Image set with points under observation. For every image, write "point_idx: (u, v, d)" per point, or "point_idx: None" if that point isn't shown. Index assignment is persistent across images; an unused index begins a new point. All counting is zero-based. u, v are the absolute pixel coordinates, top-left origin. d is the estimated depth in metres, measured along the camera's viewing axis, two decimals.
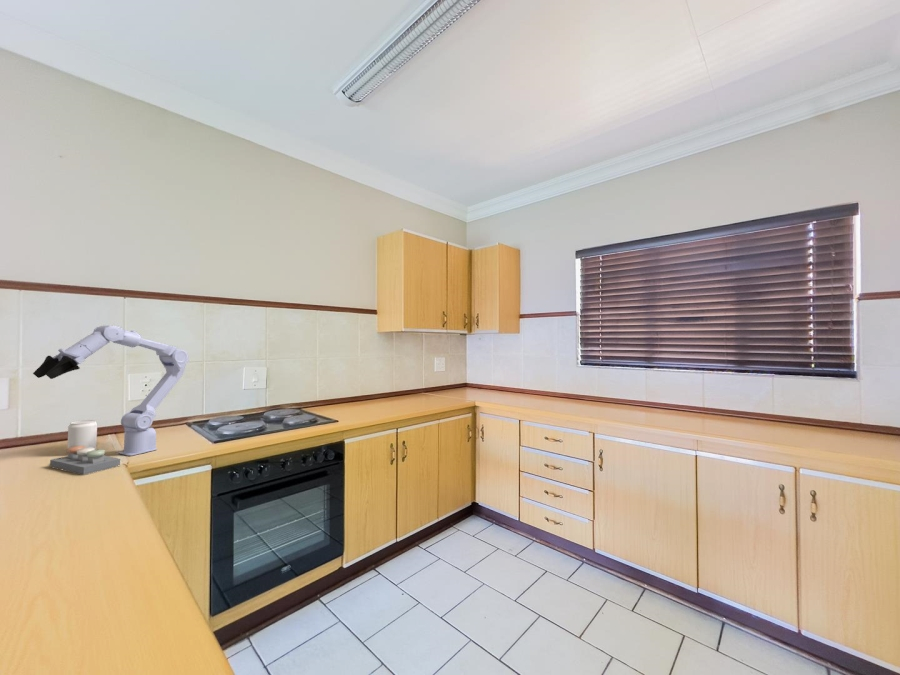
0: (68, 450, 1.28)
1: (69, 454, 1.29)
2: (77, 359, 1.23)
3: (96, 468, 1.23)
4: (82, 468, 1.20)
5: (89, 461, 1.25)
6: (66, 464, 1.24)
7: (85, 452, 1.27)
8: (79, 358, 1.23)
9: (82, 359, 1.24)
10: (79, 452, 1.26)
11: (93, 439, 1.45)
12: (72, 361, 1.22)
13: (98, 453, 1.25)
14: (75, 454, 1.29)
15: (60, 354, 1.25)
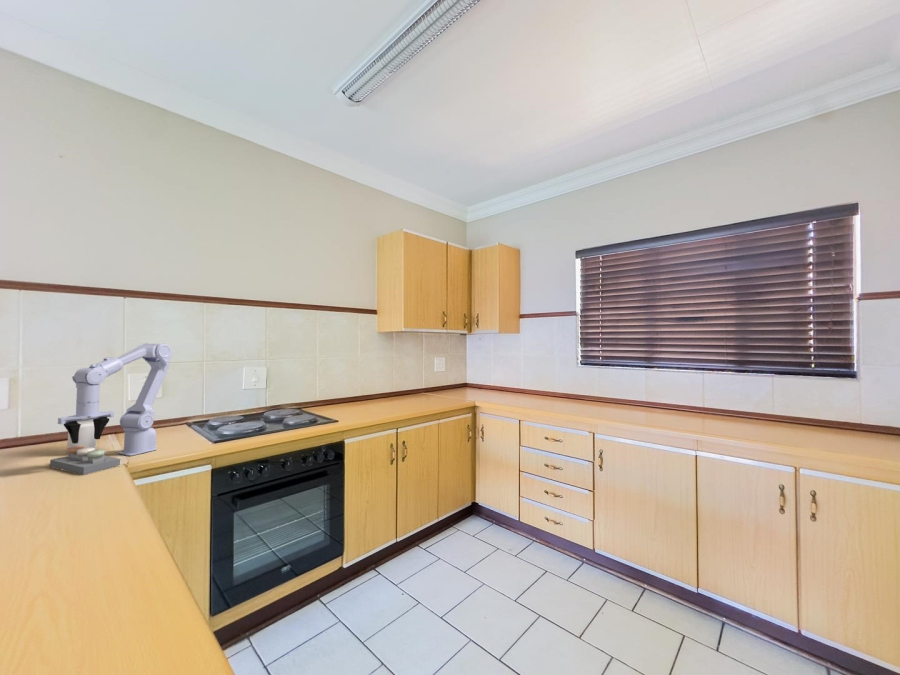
0: (68, 450, 1.28)
1: (69, 454, 1.29)
2: None
3: (96, 468, 1.23)
4: (82, 468, 1.20)
5: (89, 461, 1.25)
6: (66, 464, 1.24)
7: (85, 452, 1.27)
8: None
9: None
10: (79, 452, 1.26)
11: (93, 439, 1.45)
12: None
13: (98, 453, 1.25)
14: (75, 454, 1.29)
15: None
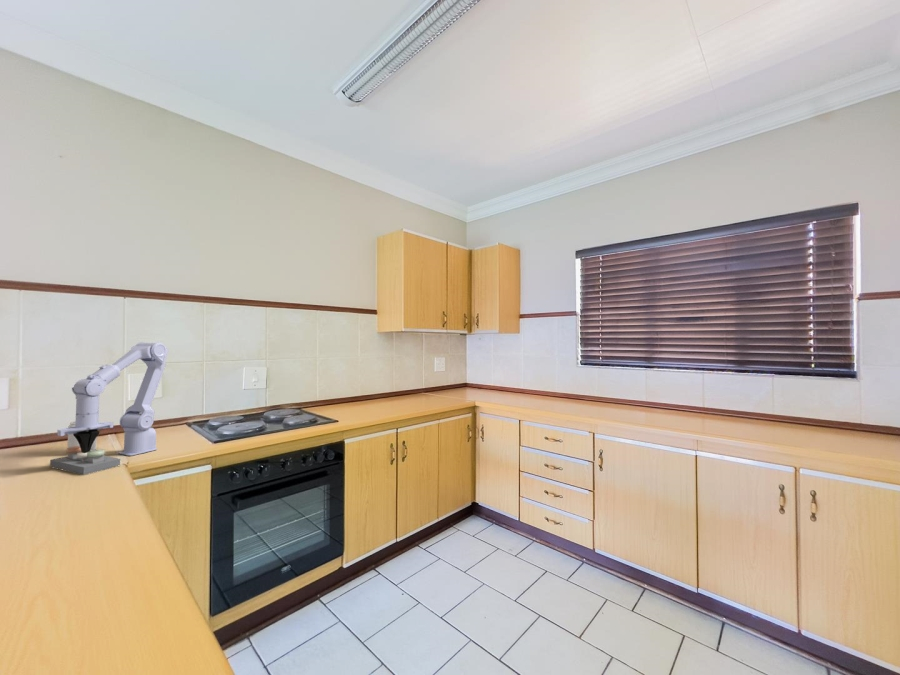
0: (68, 450, 1.28)
1: (69, 454, 1.29)
2: None
3: (96, 468, 1.23)
4: (82, 468, 1.20)
5: (89, 461, 1.25)
6: (66, 464, 1.24)
7: (85, 455, 1.27)
8: None
9: None
10: (79, 455, 1.26)
11: None
12: None
13: (98, 453, 1.25)
14: (75, 454, 1.29)
15: None
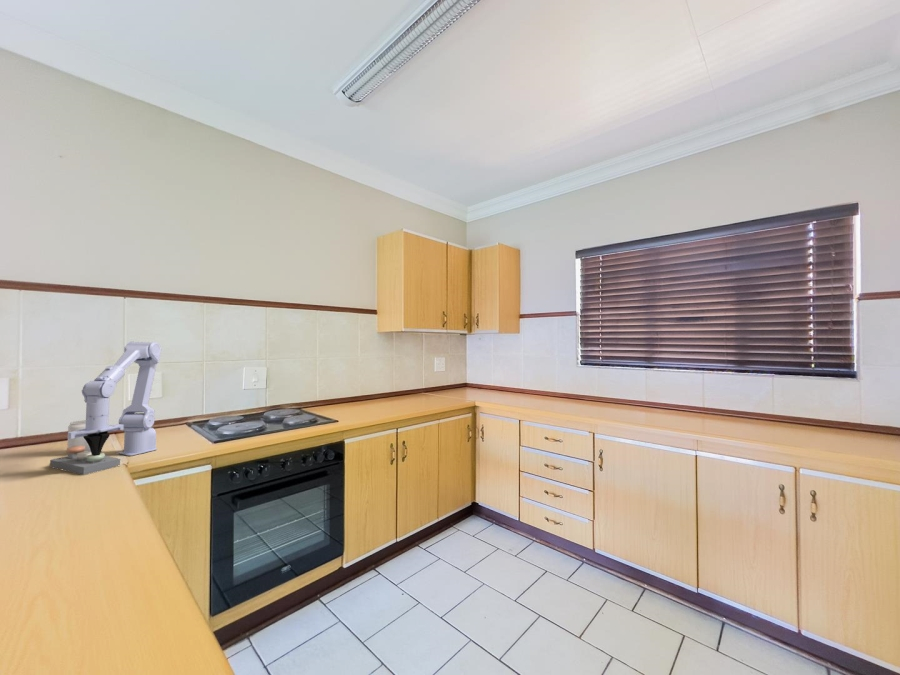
0: (68, 450, 1.28)
1: (69, 454, 1.29)
2: None
3: (96, 468, 1.23)
4: (82, 468, 1.20)
5: None
6: (66, 464, 1.24)
7: (85, 456, 1.27)
8: None
9: None
10: (79, 456, 1.26)
11: None
12: None
13: (98, 457, 1.25)
14: (75, 454, 1.29)
15: None
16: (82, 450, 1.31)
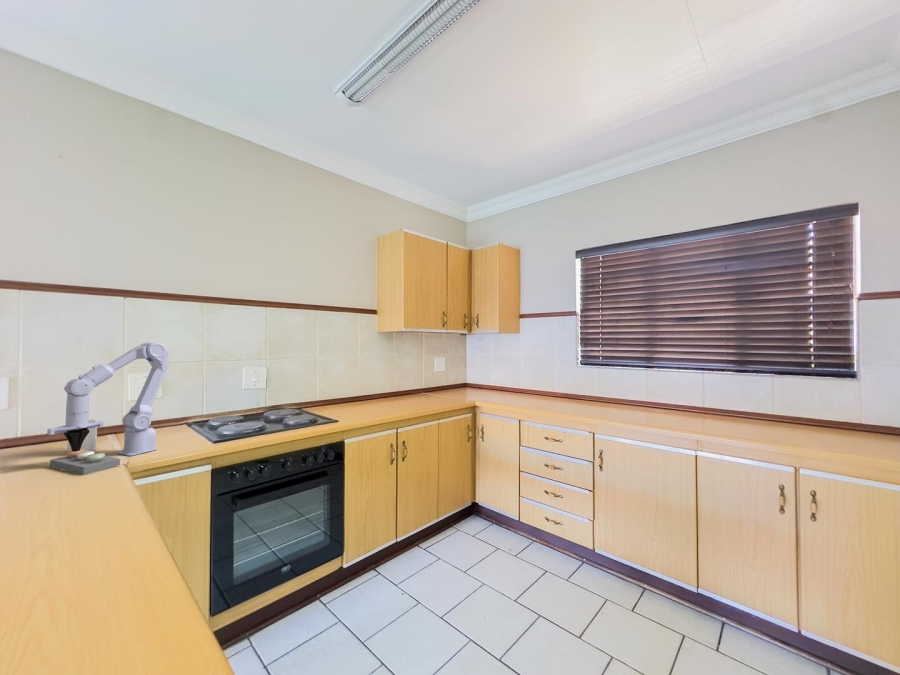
0: (68, 454, 1.28)
1: (69, 458, 1.29)
2: None
3: (96, 468, 1.23)
4: (82, 468, 1.20)
5: None
6: (66, 464, 1.24)
7: (85, 456, 1.27)
8: None
9: None
10: (79, 456, 1.26)
11: (93, 439, 1.45)
12: None
13: (98, 457, 1.25)
14: None
15: None
16: None
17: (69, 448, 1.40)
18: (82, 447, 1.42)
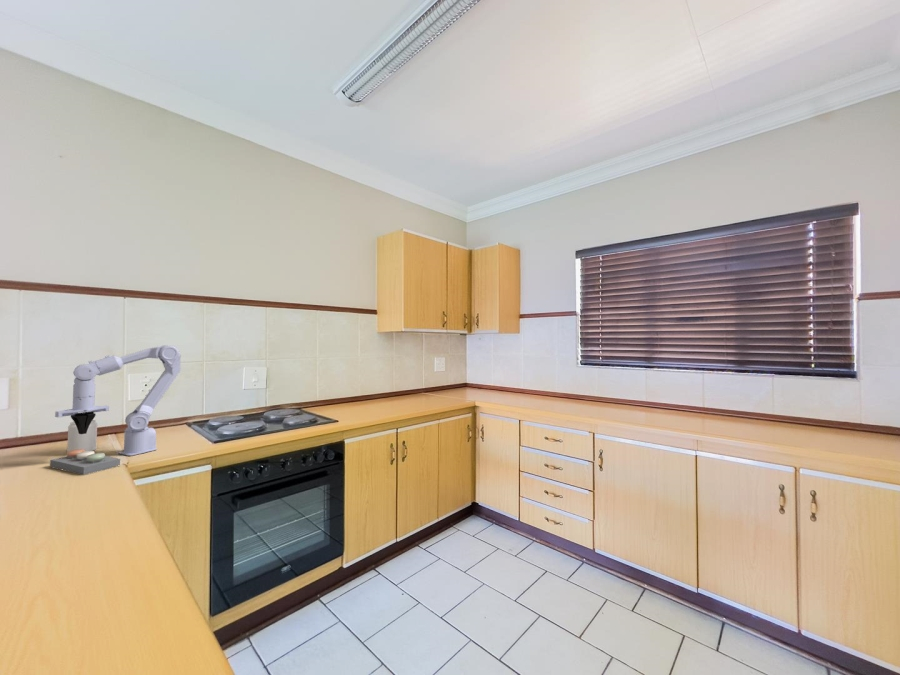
0: (68, 454, 1.28)
1: (69, 458, 1.29)
2: None
3: (96, 468, 1.23)
4: (82, 468, 1.20)
5: None
6: (66, 464, 1.24)
7: (85, 456, 1.27)
8: None
9: None
10: (79, 456, 1.26)
11: (93, 439, 1.45)
12: None
13: (98, 457, 1.25)
14: None
15: None
16: None
17: (69, 448, 1.40)
18: (82, 447, 1.42)
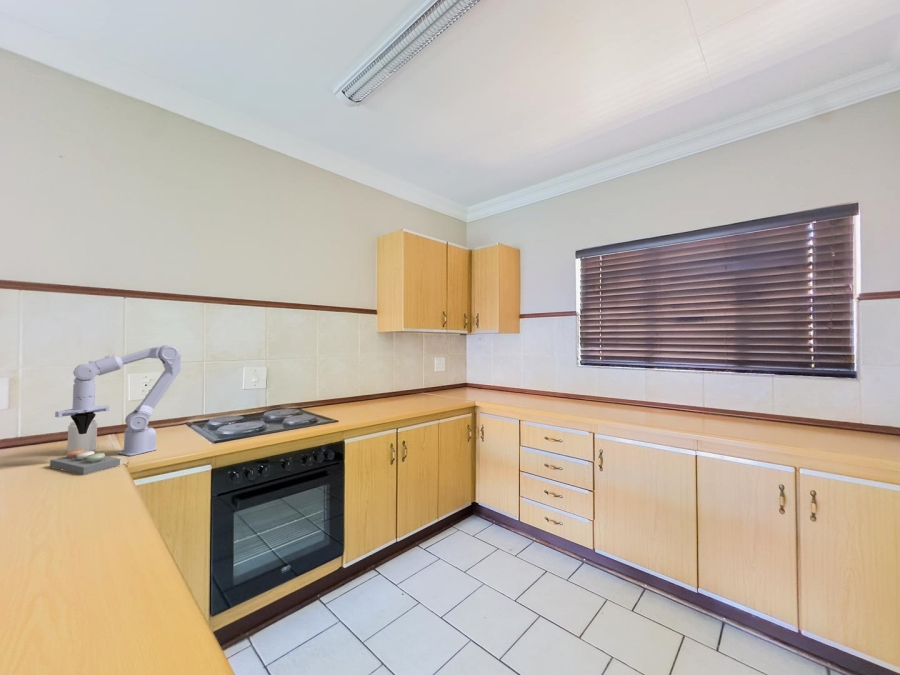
0: (68, 454, 1.28)
1: (69, 458, 1.29)
2: None
3: (96, 468, 1.23)
4: (82, 468, 1.20)
5: None
6: (66, 464, 1.24)
7: (85, 456, 1.27)
8: None
9: None
10: (79, 456, 1.26)
11: (93, 439, 1.45)
12: None
13: (98, 457, 1.25)
14: None
15: None
16: None
17: (69, 448, 1.40)
18: (82, 447, 1.42)
